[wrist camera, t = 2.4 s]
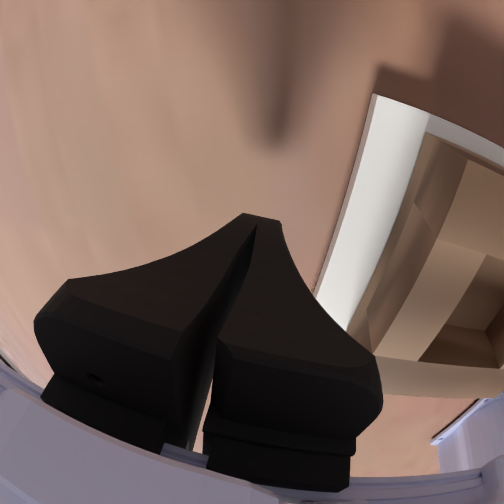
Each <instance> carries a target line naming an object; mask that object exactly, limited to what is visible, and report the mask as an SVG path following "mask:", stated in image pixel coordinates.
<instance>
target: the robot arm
mask: <svg viewBox="0 0 504 504" xmlns="http://www.w3.org/2000/svg"><path fill="white" fill-rule="evenodd" d="M34 332H35V336H36V338H37V341H38V343H39V345H40V347H41V349H42V351H43V353H44V355H45V357H46V359H47V361H48V363H49V364H50V366H51V368H52V370H53V372H54V375H53V377H52V378H51V380H50V381H49V383H48V384H47V386H46V388H45V389H43V388H41V387H40V386H38V385H36V384H35V383H33V382H31V381H30V380H28V379H26V378H25V377H23V376H22V375H20V374H18V373H17V372H15V371H14V370H12V369H11V368H9V367H8V366H6V365H5V364H3V363H2V362H0V504H288V503H294V504H504V390H503V391H502V392H501V393H500V394H499V395H498V396H497V397H496V398H480V399H479V400H478V401H477V402H476V403H475V404H474V405H473V406H472V407H471V408H470V409H468V410H467V411H466V412H465V413H464V414H463V415H462V416H461V417H459V418H458V419H457V420H456V421H455V422H453V423H452V424H451V425H450V426H449V427H447V428H446V429H445V430H444V431H442V432H441V433H440V434H439V435H437V436H436V437H435V438H433V439H432V440H431V441H430V444H431V445H437V450H438V459H439V469H440V474H432V475H421V476H405V477H350V456H353V455H355V452H356V437H357V436H359V435H360V434H361V433H362V432H363V431H364V430H365V429H366V428H367V427H368V426H369V425H370V424H371V423H372V422H373V421H374V420H375V419H376V418H377V417H378V415H379V414H380V412H381V411H382V407H383V392H382V383H381V378H380V373H379V369H378V366H377V362H376V357H375V356H374V355H373V354H372V353H371V352H369V351H368V350H367V349H366V348H365V347H363V346H362V345H361V344H360V343H358V342H357V341H356V340H355V339H354V338H352V337H351V336H350V335H349V334H348V333H347V332H346V331H345V330H344V329H343V328H342V327H341V326H340V325H339V324H338V323H337V322H335V321H334V319H333V318H332V317H331V316H330V315H329V314H328V313H327V312H326V311H325V310H324V308H323V307H322V306H321V305H320V303H319V302H318V301H317V300H316V299H315V297H314V296H313V295H312V293H311V292H310V290H309V289H308V287H307V286H306V284H305V282H304V281H303V279H302V277H301V276H300V274H299V272H298V270H297V268H296V266H295V264H294V262H293V260H292V257H291V255H290V252H289V250H288V247H287V245H286V242H285V238H284V235H283V231H282V224H281V223H280V221H278V220H274V219H269V218H265V217H260V216H255V215H251V214H246V213H242V214H241V215H239V216H238V217H236V218H235V219H233V220H232V221H231V222H229V223H228V224H226V225H225V226H224V227H222V228H221V229H219V230H218V231H216V232H214V233H213V234H211V235H210V236H208V237H207V238H205V239H203V240H201V241H200V242H198V243H196V244H194V245H192V246H190V247H188V248H186V249H184V250H182V251H180V252H177V253H175V254H173V255H171V256H168V257H165V258H162V259H159V260H156V261H153V262H151V263H148V264H145V265H142V266H138V267H134V268H130V269H127V270H122V271H118V272H113V273H108V274H103V275H96V276H89V277H82V278H74V279H68V280H67V281H66V282H65V283H64V284H63V285H62V286H61V287H60V288H59V289H58V291H57V292H56V293H55V294H54V295H53V296H52V297H51V299H50V300H49V301H48V302H47V303H46V304H45V305H44V307H43V308H42V309H41V310H40V311H39V313H38V314H37V315H36V317H35V319H34ZM212 379H213V382H212ZM211 382H212V392H211V402H210V405H209V409H208V412H207V415H206V418H205V421H204V425H203V429H202V432H204V433H203V451H202V454H201V453H197V452H193V447H194V443H195V440H196V436H197V432H198V428H199V425H200V421H201V417H202V414H203V410H204V407H205V403H206V400H207V396H208V393H209V389H210V386H211ZM282 502H285V503H282Z"/></svg>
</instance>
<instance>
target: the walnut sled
mask: <svg viewBox="0 0 504 504" xmlns="http://www.w3.org/2000/svg"><path fill="white" fill-rule="evenodd" d="M346 332H347V333H348V334H349V335H350V336H351V337H352V338H354V339H355V340H356V341H357V342H358V343H360V344H361V345H362V346H363V347H365V348H366V349H367V350H368V351H369V352H371V353H372V354H373V355H374V356H375V357H376V362H377V366H378V369H379V373H380V378H381V383H382V392H383V394H392V395H404V396H418V397H436V398H496V397H497V396H498V395H499V394H500V393H501V392H502V391H503V390H504V167H503V166H501V165H499V164H497V163H495V162H493V161H491V160H489V159H487V158H485V157H483V156H481V155H479V154H477V153H475V152H472V151H470V150H468V149H466V148H464V147H461V146H459V145H457V144H455V143H452V142H450V141H447V140H445V139H443V138H440V137H438V136H435V135H433V134H430V133H428V132H425V135H424V138H423V142H422V145H421V148H420V151H419V155H418V158H417V161H416V164H415V167H414V170H413V173H412V176H411V179H410V182H409V185H408V188H407V191H406V194H405V196H404V199H403V202H402V205H401V207H400V210H399V213H398V215H397V218H396V220H395V223H394V226H393V228H392V231H391V233H390V236H389V238H388V241H387V243H386V245H385V248H384V250H383V253H382V255H381V257H380V260H379V262H378V264H377V267H376V269H375V271H374V273H373V276H372V278H371V280H370V282H369V284H368V286H367V289H366V291H365V293H364V295H363V297H362V299H361V301H360V303H359V306H358V308H357V310H356V312H355V314H354V316H353V318H352V320H351V322H350V324H349V326H348V328H347V330H346Z"/></svg>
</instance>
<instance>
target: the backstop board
mask: <svg viewBox="0 0 504 504" xmlns="http://www.w3.org/2000/svg"><path fill="white" fill-rule="evenodd" d="M425 132H428V133H430V134H433V135H435V136H438V137H440V138H443V139H445V140H447V141H450V142H452V143H455V144H457V145H459V146H461V147H464V148H466V149H468V150H470V151H472V152H475V153H477V154H479V155H481V156H483V157H485V158H487V159H489V160H491V161H493V162H495V163H497V164H499V165H501V166H503V167H504V148H502V147H500V146H498V145H497V144H495V143H493V142H491V141H489V140H487V139H485V138H483V137H481V136H479V135H477V134H475V133H473V132H471V131H469V130H467V129H465V128H463V127H460V126H458V125H456V124H454V123H451V122H449V121H447V120H445V119H442V118H440V117H437V116H435V115H433V114H430V113H428V112H425V111H422V110H420V109H417V108H415V107H412V106H409V105H406V104H404V103H401V102H398V101H395V100H392V99H389V98H386V97H383V96H380V95H377V94H374V93H372V97H371V101H370V105H369V110H368V114H367V118H366V122H365V126H364V130H363V134H362V138H361V141H360V145H359V149H358V153H357V156H356V160H355V164H354V167H353V171H352V174H351V178H350V181H349V185H348V188H347V192H346V195H345V198H344V202H343V205H342V208H341V212H340V215H339V218H338V221H337V224H336V228H335V231H334V234H333V237H332V240H331V243H330V246H329V249H328V252H327V255H326V258H325V261H324V264H323V267H322V270H321V273H320V276H319V279H318V282H317V284H316V287H315V290H314V293H313V296H314V297H315V299H316V300H317V301H318V302H319V303H320V305H321V306H322V307H323V308H324V310H325V311H326V312H327V313H328V314H329V315H330V316H331V317H332V318H333V319H334V321H335V322H337V323H338V324H339V325H340V326H341V327H342V328H343V329H344V330H345V331H346V330H347V328H348V326H349V324H350V322H351V320H352V318H353V316H354V314H355V312H356V310H357V308H358V306H359V303H360V301H361V299H362V297H363V295H364V293H365V291H366V289H367V286H368V284H369V282H370V280H371V278H372V276H373V273H374V271H375V269H376V267H377V264H378V262H379V260H380V257H381V255H382V253H383V250H384V248H385V245H386V243H387V241H388V238H389V236H390V233H391V231H392V228H393V226H394V223H395V220H396V218H397V215H398V213H399V210H400V207H401V205H402V202H403V199H404V196H405V194H406V191H407V188H408V185H409V182H410V179H411V176H412V173H413V170H414V167H415V164H416V161H417V158H418V155H419V151H420V148H421V145H422V142H423V138H424V135H425Z"/></svg>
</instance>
